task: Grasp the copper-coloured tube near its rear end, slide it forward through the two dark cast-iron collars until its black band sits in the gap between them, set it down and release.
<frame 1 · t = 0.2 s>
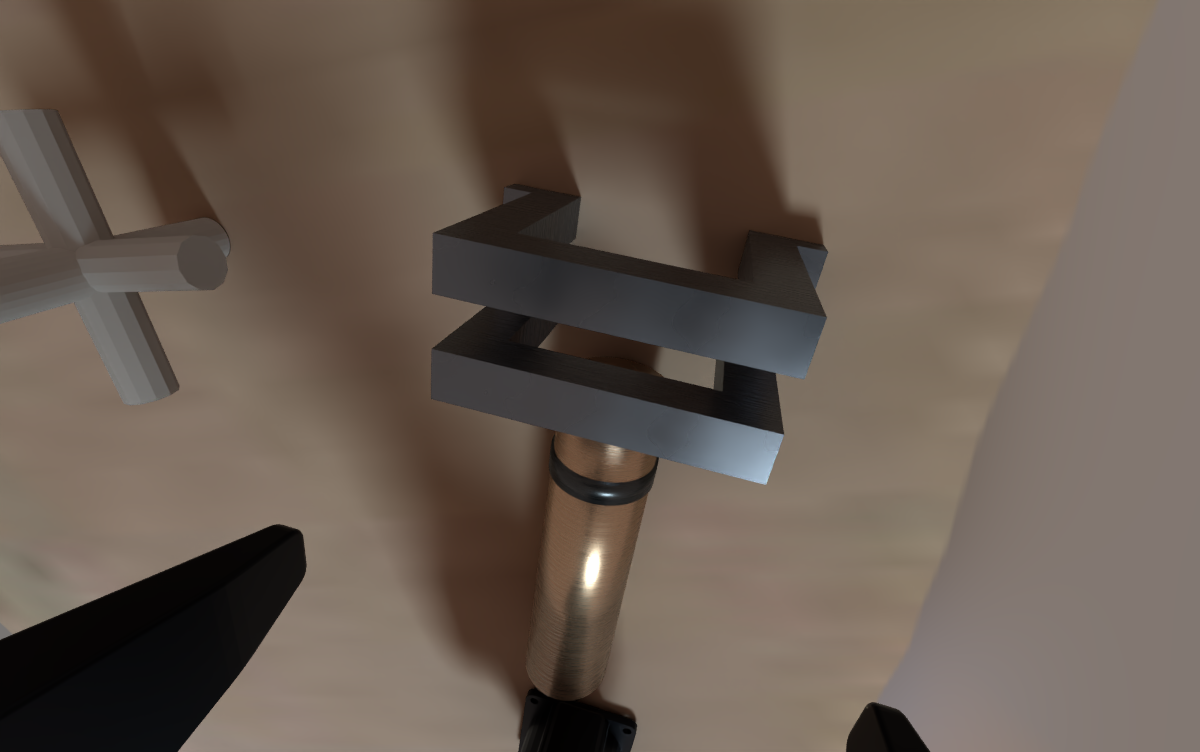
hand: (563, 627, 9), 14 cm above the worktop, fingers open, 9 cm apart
pipe connector: (215, 238, 24), on the worktop
firebox collars: (651, 275, 20), on the worktop
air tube: (603, 514, 26), on the worktop, tilted 7°
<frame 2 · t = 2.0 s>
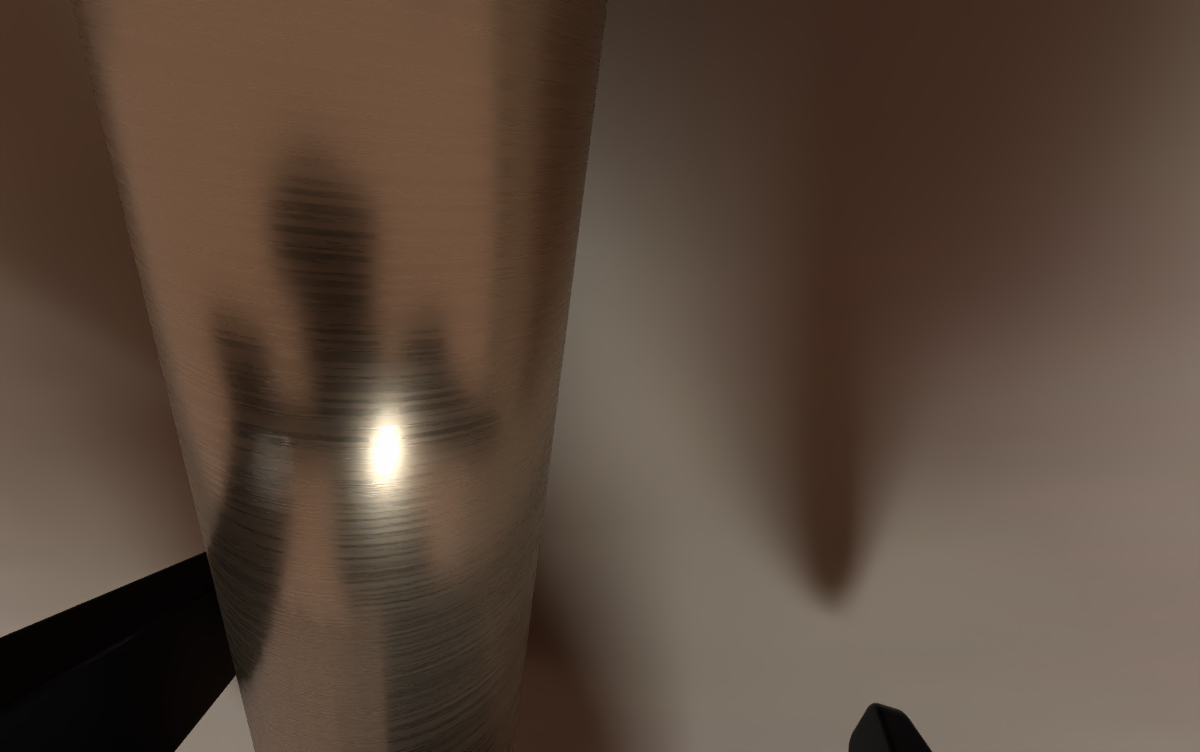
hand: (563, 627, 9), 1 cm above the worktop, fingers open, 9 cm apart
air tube: (566, 327, 6), point 2 cm above the worktop, tilted 76°, touching gripper
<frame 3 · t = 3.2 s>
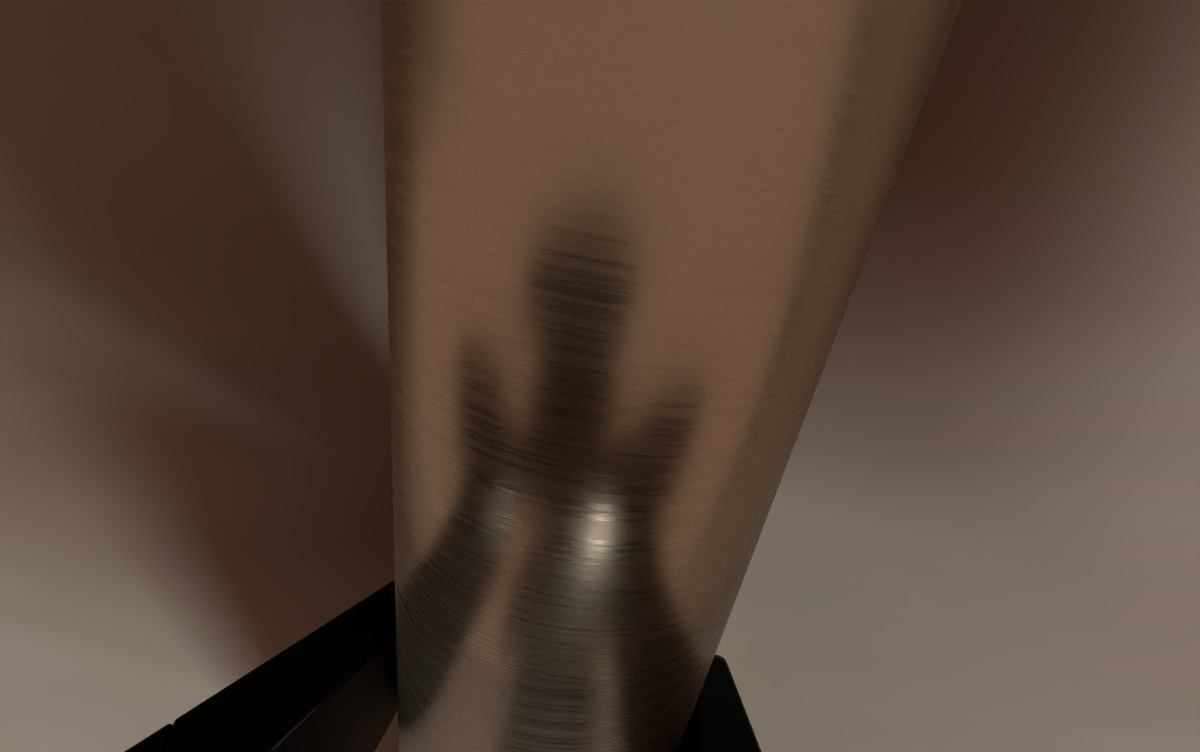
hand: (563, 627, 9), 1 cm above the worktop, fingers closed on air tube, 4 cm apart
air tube: (641, 303, 7), on the worktop, touching gripper
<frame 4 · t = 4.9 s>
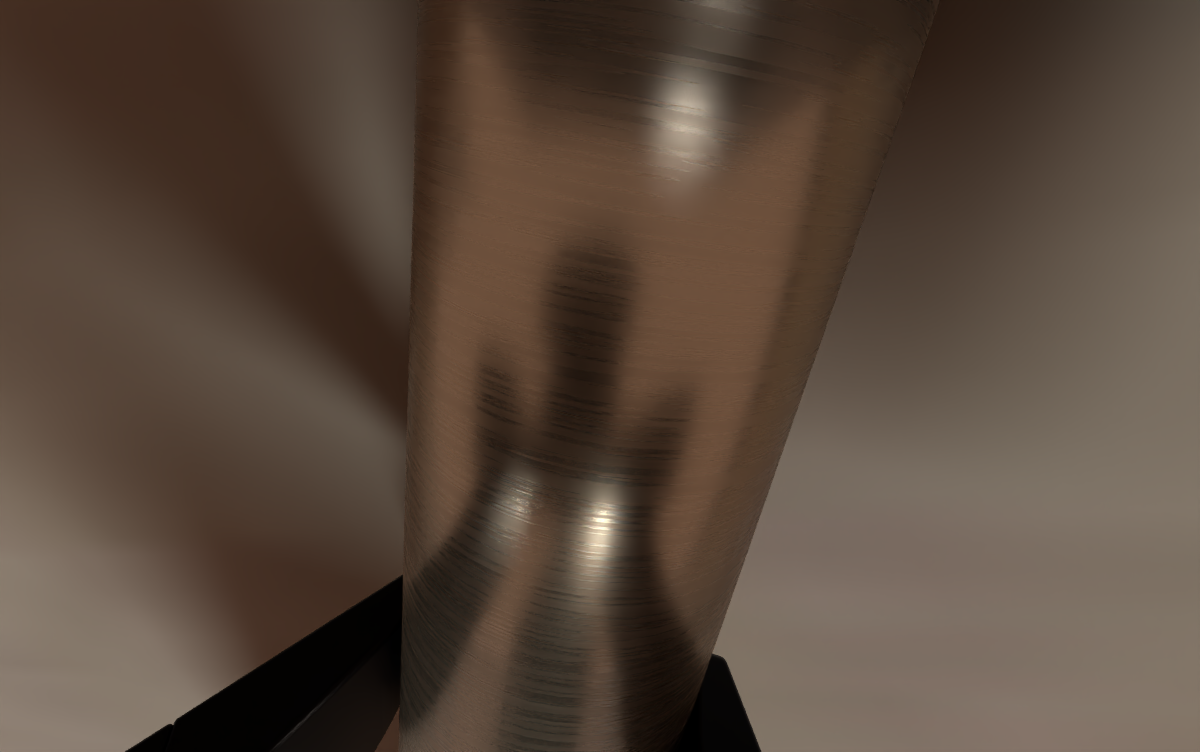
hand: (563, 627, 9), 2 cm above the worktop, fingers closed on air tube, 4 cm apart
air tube: (643, 305, 8), on the worktop, touching gripper
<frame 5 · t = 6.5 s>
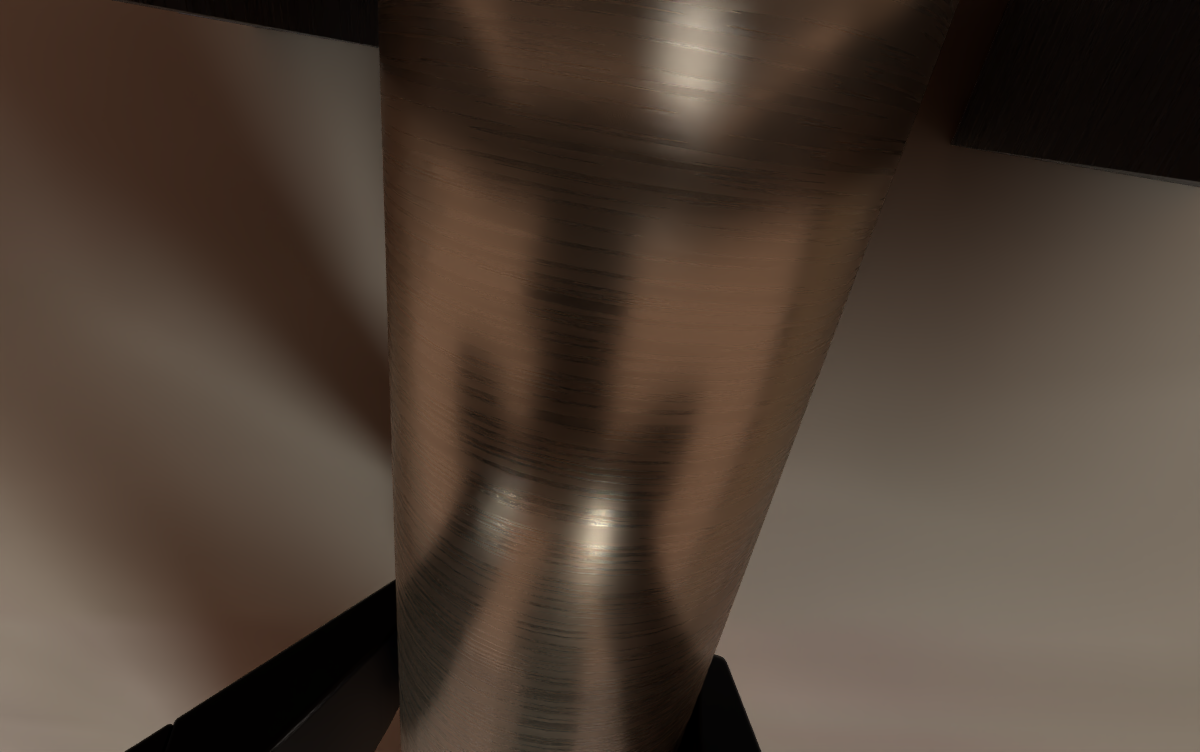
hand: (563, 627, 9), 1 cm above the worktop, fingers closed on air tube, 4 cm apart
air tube: (641, 306, 7), on the worktop, touching gripper
when the fingers open (1 cm above the worktop, at t = 7.0 s): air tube stays where it is, on the worktop.
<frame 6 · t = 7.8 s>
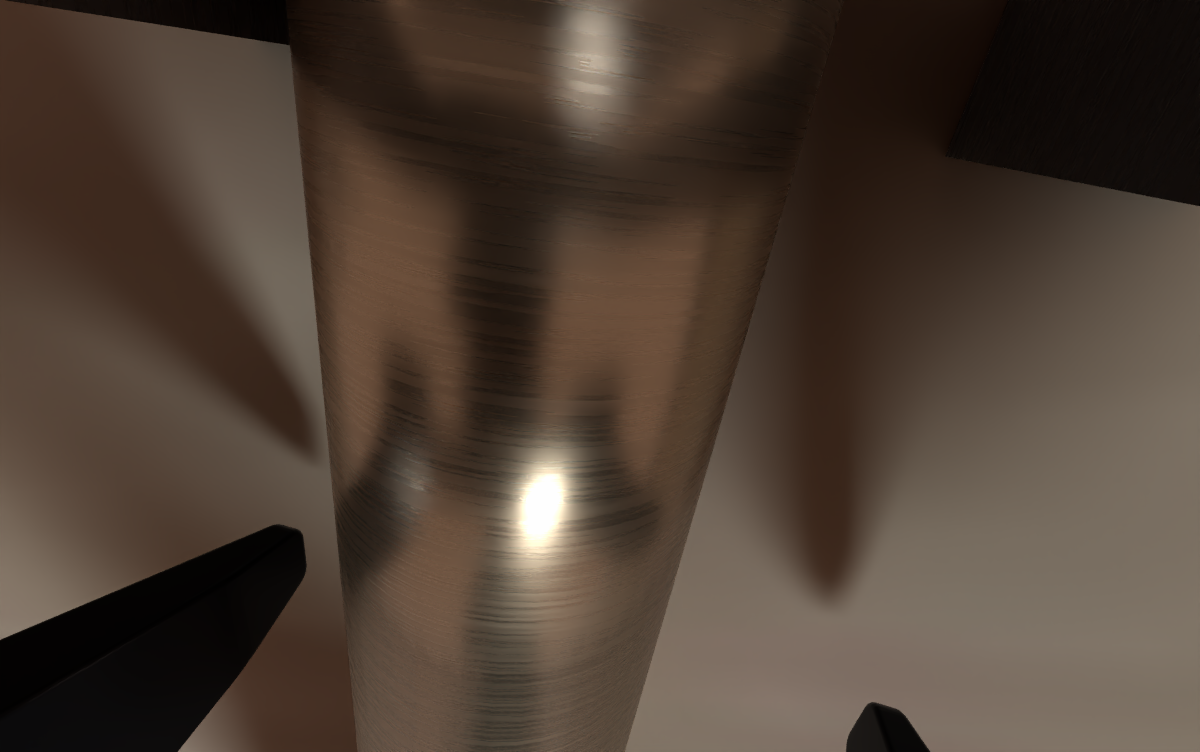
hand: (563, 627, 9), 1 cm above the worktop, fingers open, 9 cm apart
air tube: (635, 316, 7), on the worktop, tilted 23°
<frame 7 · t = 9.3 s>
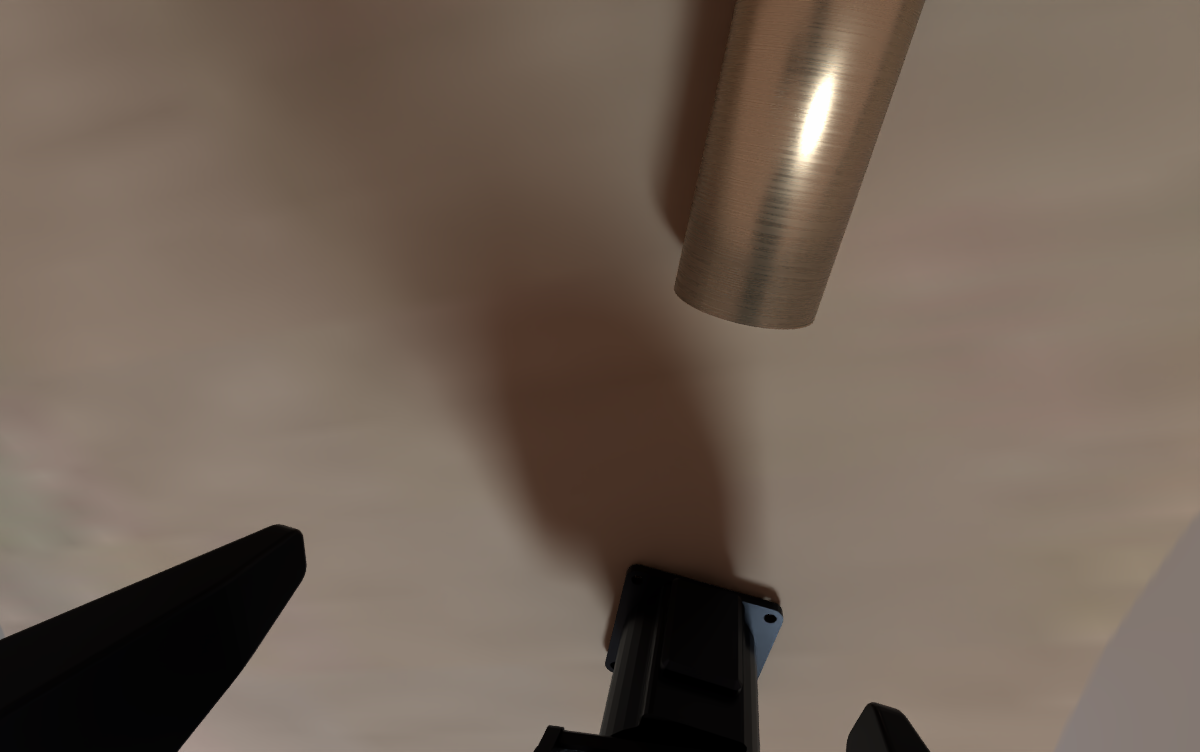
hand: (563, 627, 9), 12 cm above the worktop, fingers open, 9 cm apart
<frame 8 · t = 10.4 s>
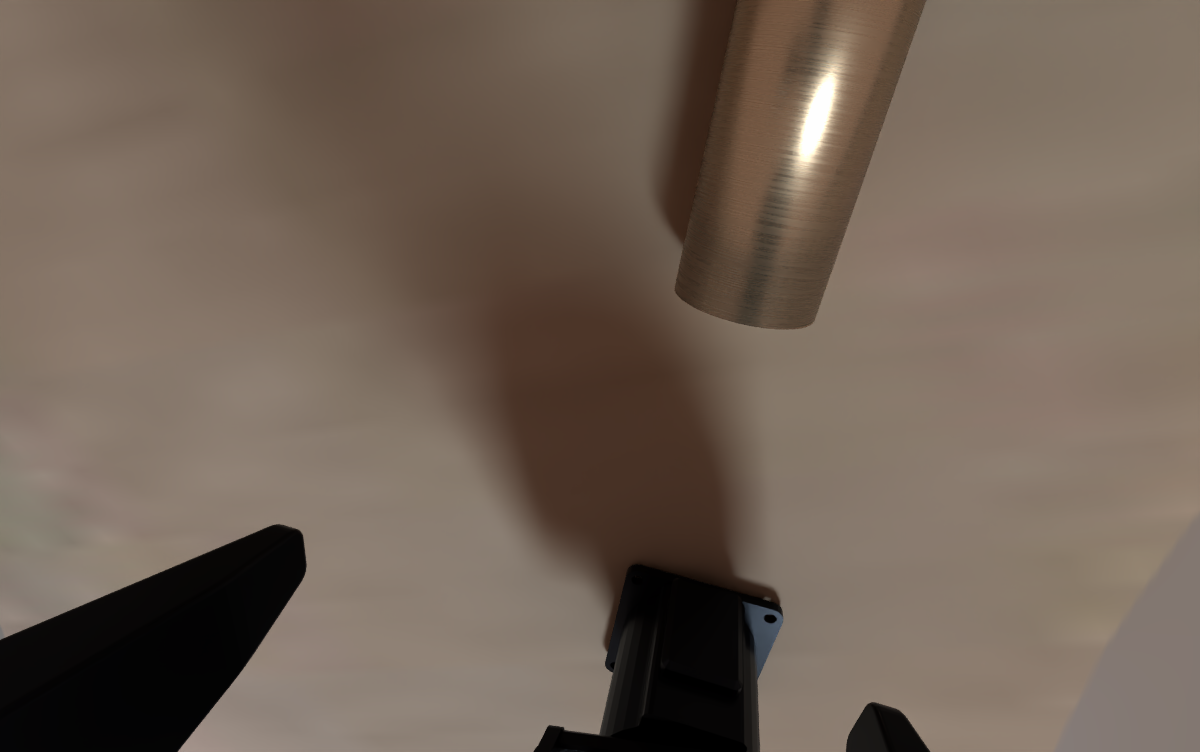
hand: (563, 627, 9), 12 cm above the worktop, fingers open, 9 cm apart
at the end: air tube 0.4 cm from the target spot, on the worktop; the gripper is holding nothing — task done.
